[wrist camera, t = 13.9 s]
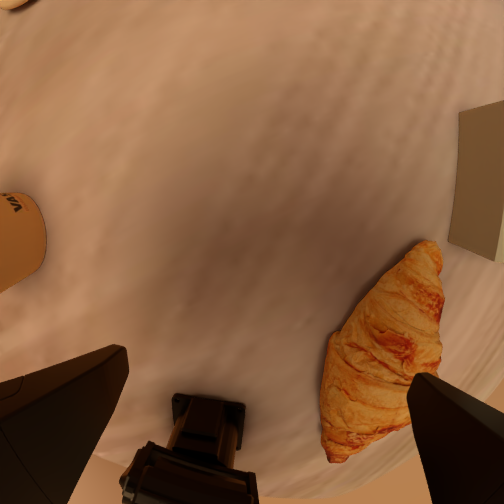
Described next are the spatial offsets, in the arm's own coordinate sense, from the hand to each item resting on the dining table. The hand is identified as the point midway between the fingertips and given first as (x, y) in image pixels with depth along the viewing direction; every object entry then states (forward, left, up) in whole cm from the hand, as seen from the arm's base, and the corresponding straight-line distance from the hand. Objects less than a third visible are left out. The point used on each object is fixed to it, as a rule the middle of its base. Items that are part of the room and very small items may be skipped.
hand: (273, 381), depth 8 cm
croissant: (-8, -10, -13) cm, 18 cm away
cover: (+8, -18, -13) cm, 24 cm away
